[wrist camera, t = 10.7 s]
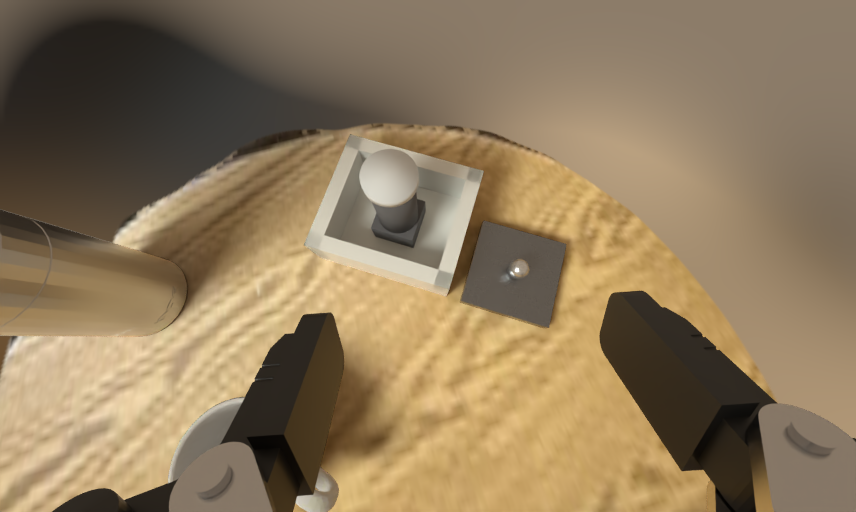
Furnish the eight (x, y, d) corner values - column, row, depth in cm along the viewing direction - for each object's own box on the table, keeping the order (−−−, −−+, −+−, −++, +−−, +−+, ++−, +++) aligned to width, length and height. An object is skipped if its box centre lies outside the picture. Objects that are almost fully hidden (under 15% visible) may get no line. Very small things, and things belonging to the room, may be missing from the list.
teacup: (203, 458, 34) (136, 495, 26) (269, 365, 36) (225, 373, 28) (311, 542, 32) (273, 607, 24) (372, 438, 34) (356, 468, 26)
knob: (374, 237, 39) (350, 193, 27) (387, 200, 40) (371, 142, 28) (414, 249, 38) (407, 209, 27) (426, 211, 40) (426, 157, 28)
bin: (321, 258, 39) (303, 244, 33) (360, 161, 42) (350, 134, 37) (446, 296, 38) (449, 289, 32) (476, 193, 41) (483, 171, 35)
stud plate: (459, 302, 38) (463, 297, 33) (481, 224, 40) (487, 211, 36) (544, 328, 37) (559, 327, 33) (561, 247, 39) (577, 236, 35)
